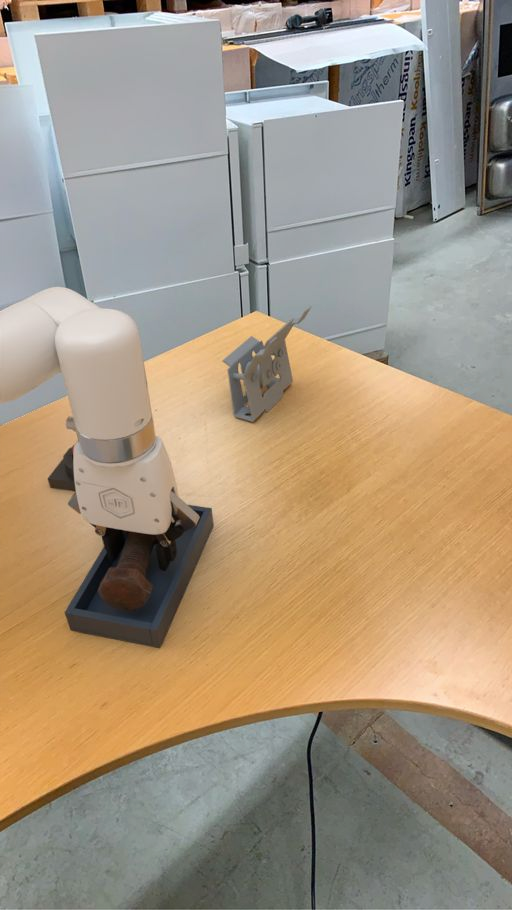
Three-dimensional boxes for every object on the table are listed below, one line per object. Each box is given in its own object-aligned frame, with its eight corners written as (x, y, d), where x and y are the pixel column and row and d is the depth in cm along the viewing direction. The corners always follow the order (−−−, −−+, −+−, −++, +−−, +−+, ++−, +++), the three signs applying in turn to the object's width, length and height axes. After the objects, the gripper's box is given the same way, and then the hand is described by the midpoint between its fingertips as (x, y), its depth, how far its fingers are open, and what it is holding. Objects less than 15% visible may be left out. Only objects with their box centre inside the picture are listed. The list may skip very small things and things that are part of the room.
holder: (70, 630, 72) (64, 612, 70) (137, 514, 86) (133, 496, 85) (160, 648, 70) (156, 630, 68) (213, 525, 84) (211, 507, 82)
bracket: (273, 430, 100) (270, 342, 91) (219, 413, 104) (211, 328, 95) (310, 389, 109) (311, 305, 100) (259, 376, 113) (255, 294, 104)
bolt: (162, 525, 84) (135, 618, 71) (126, 509, 82) (91, 601, 70) (180, 496, 80) (155, 588, 68) (143, 479, 79) (110, 569, 67)
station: (50, 487, 91) (44, 468, 89) (76, 453, 98) (71, 434, 95) (109, 496, 89) (104, 476, 87) (132, 460, 96) (128, 441, 93)
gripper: (20, 444, 64) (60, 568, 76) (185, 467, 61) (201, 594, 72) (57, 402, 70) (89, 524, 81) (210, 421, 66) (221, 546, 78)
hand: (141, 556), depth 76 cm, fingers closed on bolt, 5 cm apart
